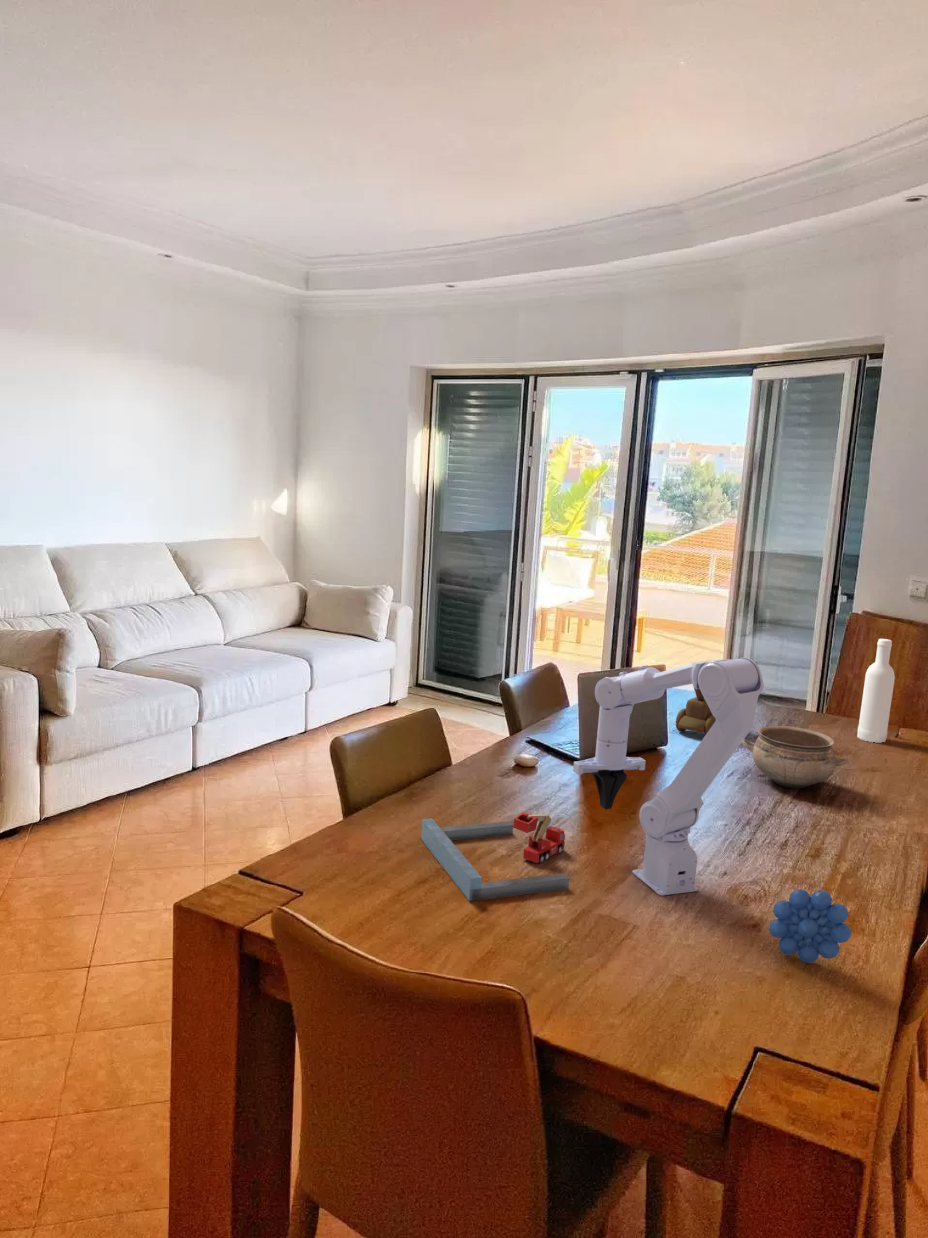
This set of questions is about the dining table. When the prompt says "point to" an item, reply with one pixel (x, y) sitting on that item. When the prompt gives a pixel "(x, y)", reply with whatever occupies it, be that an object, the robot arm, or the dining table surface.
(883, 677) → the bottle
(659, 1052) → the dining table surface
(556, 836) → the toy fire truck
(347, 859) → the dining table surface
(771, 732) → the cooking pot
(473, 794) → the dining table surface
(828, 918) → the blue beaded flower
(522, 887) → the garage
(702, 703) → the wooden toy train
